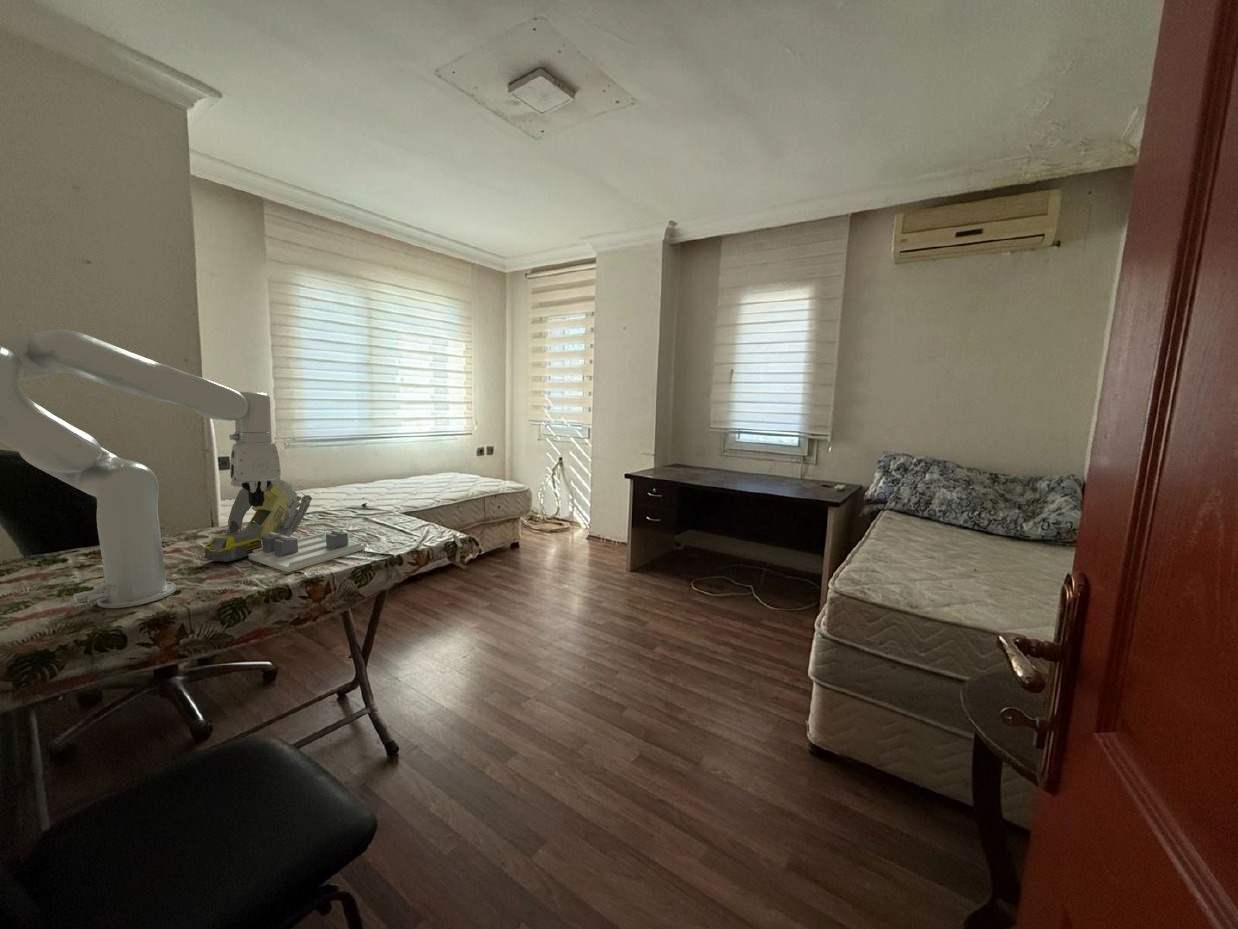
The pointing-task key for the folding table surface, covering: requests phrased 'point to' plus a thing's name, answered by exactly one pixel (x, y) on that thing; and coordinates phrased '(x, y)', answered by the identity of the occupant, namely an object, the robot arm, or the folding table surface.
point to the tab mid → (285, 546)
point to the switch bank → (305, 553)
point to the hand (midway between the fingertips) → (256, 505)
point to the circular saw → (258, 521)
